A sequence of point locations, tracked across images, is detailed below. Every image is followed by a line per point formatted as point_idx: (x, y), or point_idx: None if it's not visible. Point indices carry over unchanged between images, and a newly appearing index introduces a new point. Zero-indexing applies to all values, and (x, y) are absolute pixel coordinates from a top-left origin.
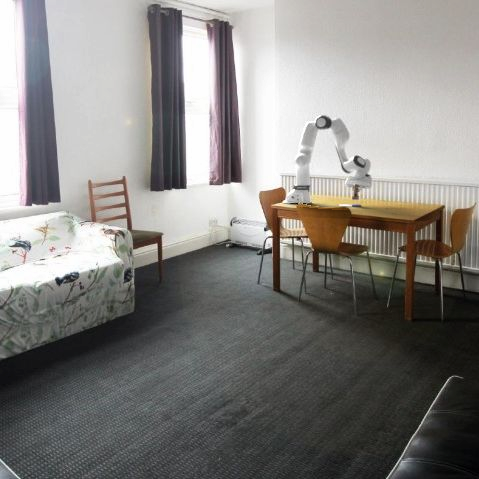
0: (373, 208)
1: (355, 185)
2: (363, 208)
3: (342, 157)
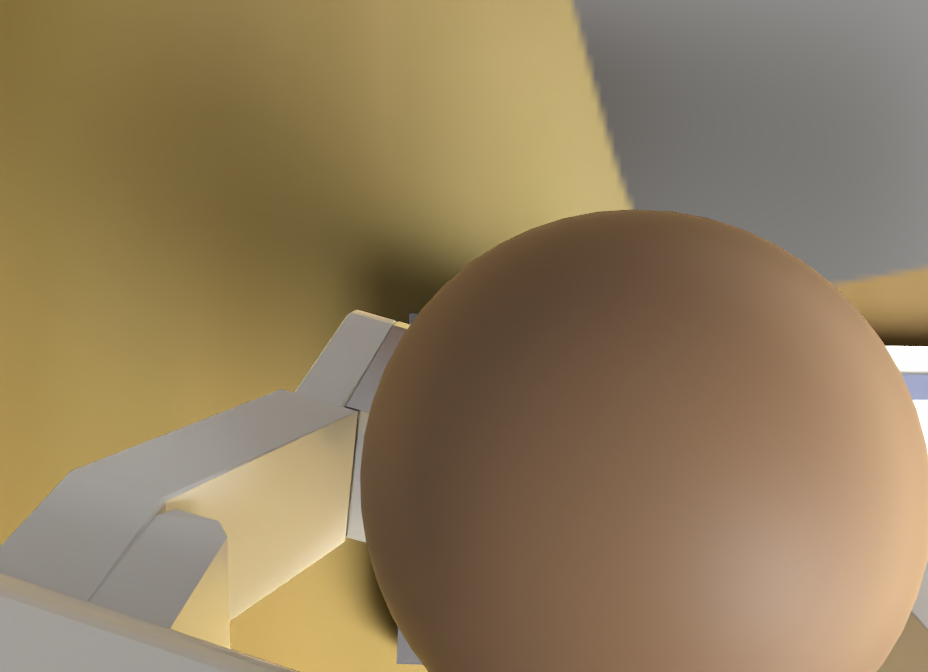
0: (36, 156)
1: (719, 228)
2: (298, 107)
3: None
